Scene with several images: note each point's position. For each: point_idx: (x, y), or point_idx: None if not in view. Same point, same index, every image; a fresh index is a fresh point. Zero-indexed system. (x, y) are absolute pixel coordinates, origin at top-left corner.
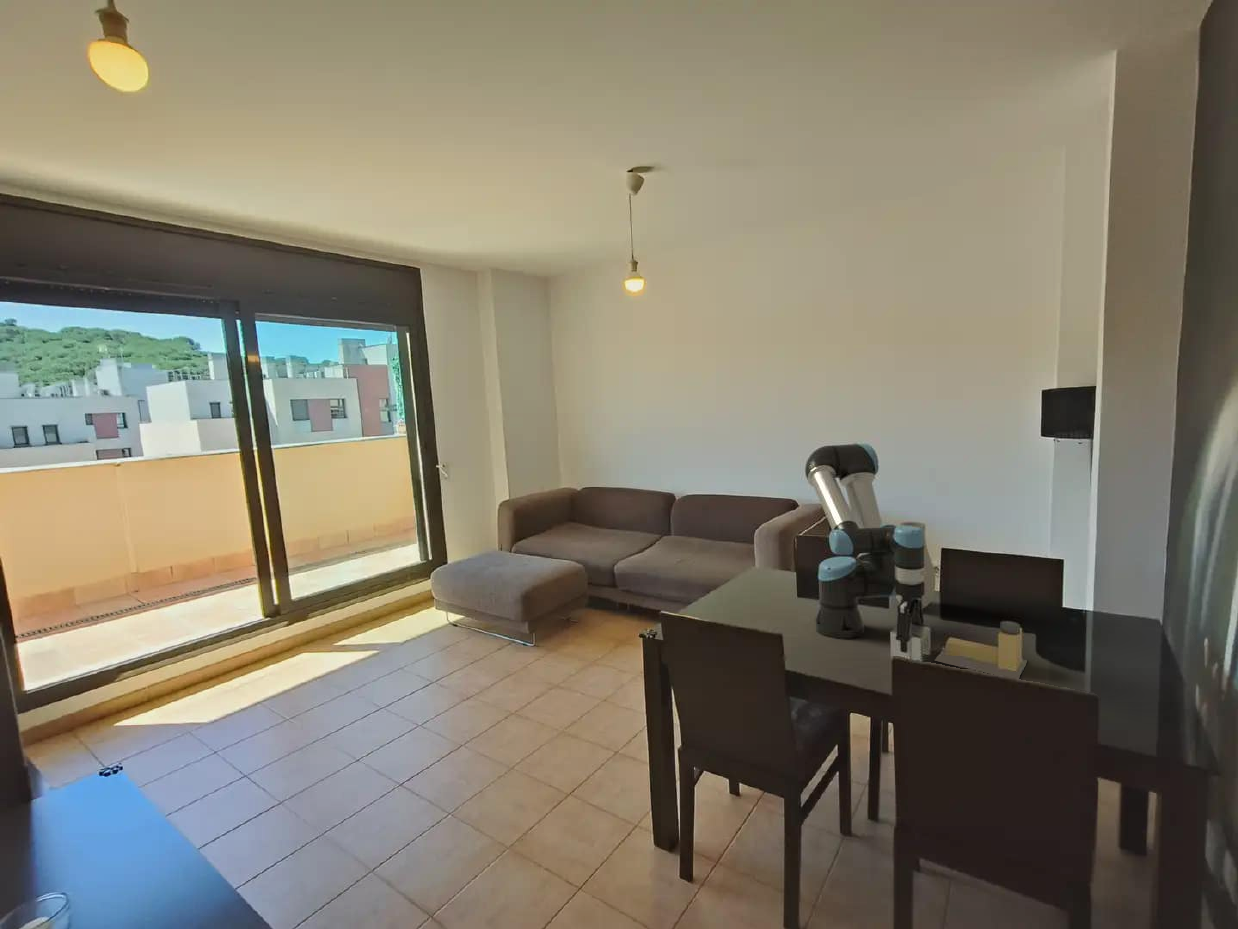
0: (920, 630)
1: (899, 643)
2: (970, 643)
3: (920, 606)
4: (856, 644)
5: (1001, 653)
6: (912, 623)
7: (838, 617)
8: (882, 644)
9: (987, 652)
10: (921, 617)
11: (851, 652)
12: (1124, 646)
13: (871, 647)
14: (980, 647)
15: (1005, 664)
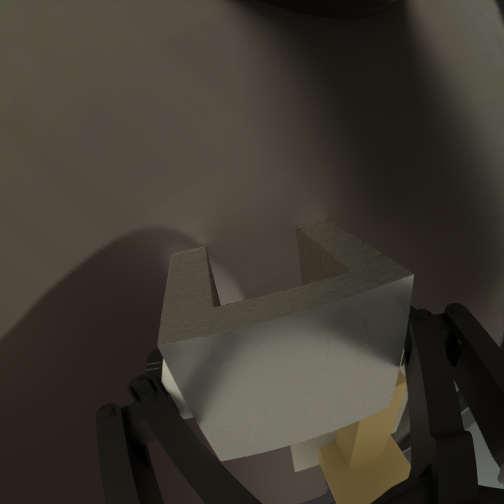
0: (330, 416)
1: (163, 363)
2: (383, 425)
3: (484, 435)
4: (197, 40)
5: (333, 485)
6: (413, 336)
7: None
8: (296, 134)
9: (349, 455)
10: (453, 373)
11: (88, 86)
12: (470, 417)
13: (219, 111)
14: (366, 445)
15: (324, 468)
